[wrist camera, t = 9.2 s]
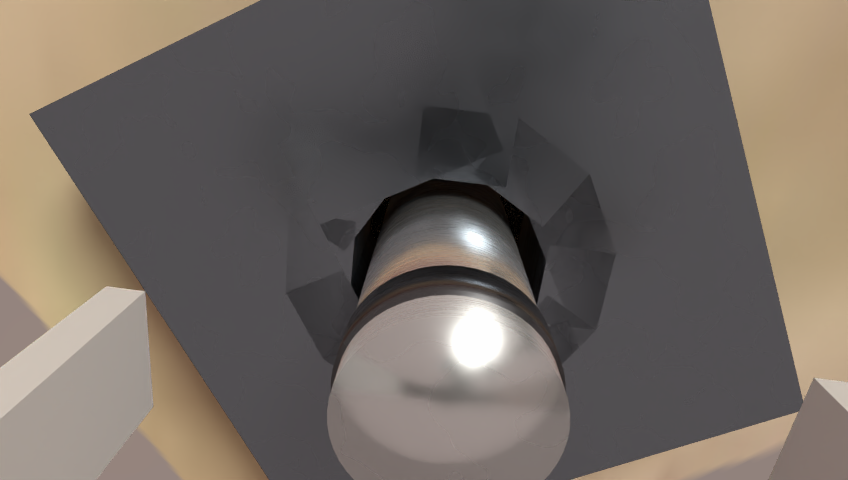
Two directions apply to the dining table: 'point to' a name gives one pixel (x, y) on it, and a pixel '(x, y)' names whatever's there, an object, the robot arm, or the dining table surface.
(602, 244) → the flange plate
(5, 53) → the dining table surface
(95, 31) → the dining table surface
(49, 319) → the dining table surface
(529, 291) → the silver metal cylinder
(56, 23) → the dining table surface
